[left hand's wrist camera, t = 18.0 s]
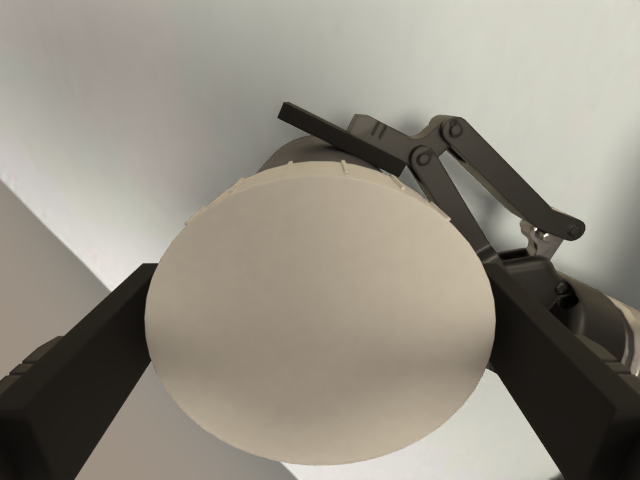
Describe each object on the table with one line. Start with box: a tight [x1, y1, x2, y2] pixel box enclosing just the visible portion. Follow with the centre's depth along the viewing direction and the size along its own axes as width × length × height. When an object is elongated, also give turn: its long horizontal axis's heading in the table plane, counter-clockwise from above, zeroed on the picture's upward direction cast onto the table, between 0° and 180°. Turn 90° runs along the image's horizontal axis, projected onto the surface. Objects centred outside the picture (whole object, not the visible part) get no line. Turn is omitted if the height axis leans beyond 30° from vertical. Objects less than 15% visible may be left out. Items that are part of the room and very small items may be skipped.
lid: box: [145, 160, 496, 465], centre depth 11 cm, size 11×11×2 cm
